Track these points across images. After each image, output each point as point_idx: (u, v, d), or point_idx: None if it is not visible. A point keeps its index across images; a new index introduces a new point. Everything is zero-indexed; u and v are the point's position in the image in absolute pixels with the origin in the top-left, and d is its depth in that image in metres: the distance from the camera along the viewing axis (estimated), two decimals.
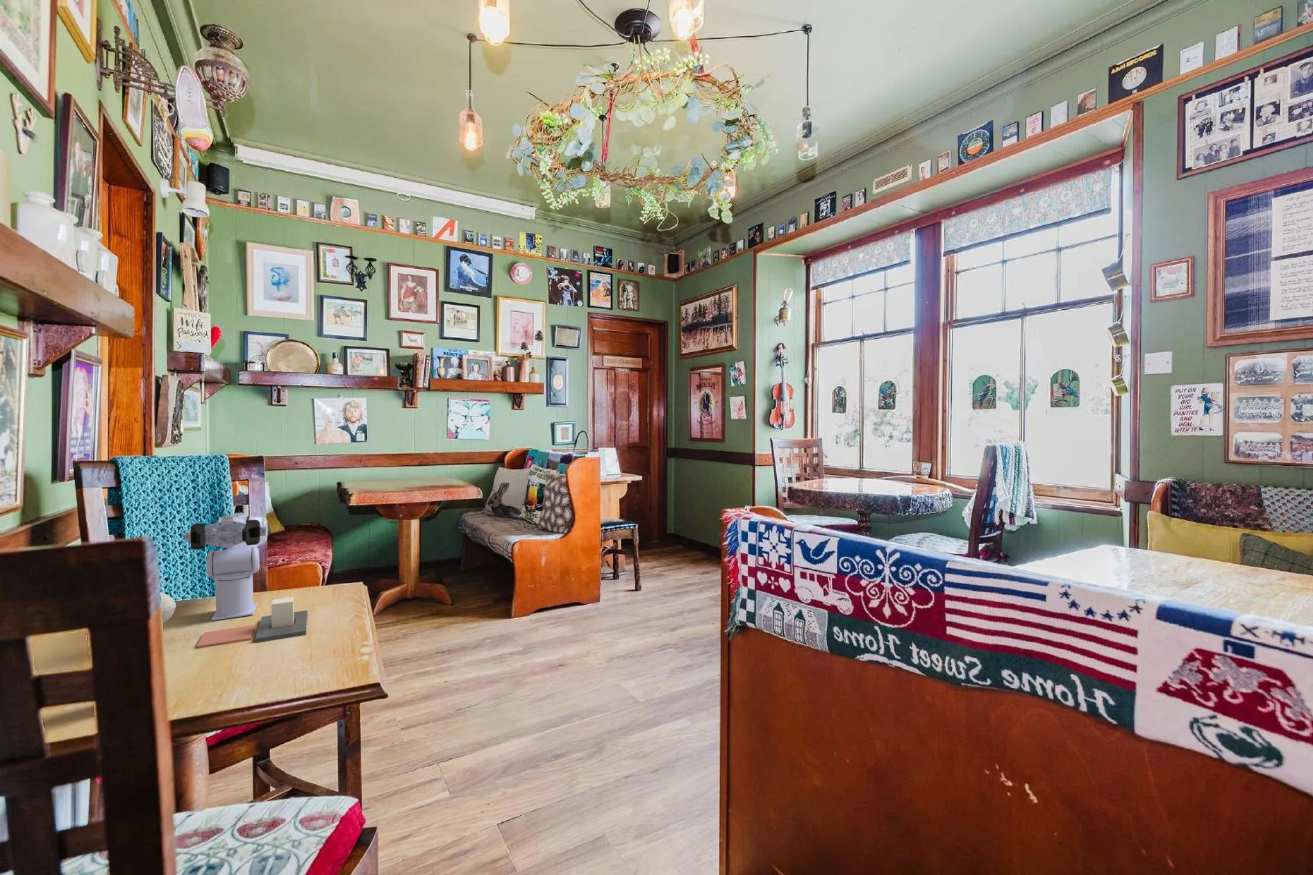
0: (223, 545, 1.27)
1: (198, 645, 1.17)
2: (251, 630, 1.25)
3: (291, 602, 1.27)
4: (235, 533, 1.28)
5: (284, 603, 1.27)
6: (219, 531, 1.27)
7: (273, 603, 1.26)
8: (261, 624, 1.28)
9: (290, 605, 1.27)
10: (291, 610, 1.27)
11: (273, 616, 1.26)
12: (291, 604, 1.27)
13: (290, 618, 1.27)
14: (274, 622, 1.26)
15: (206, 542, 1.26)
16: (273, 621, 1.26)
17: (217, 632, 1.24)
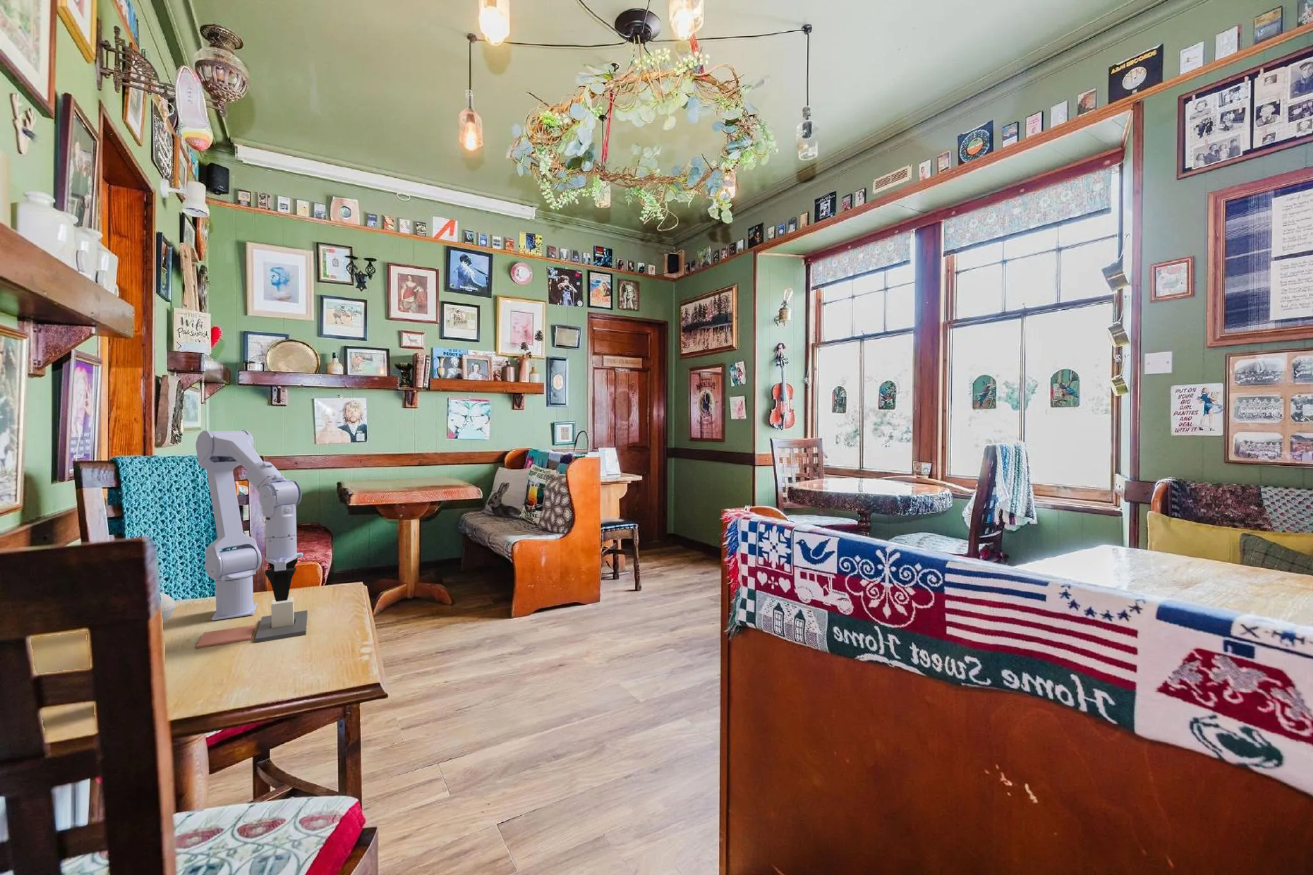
0: None
1: (198, 645, 1.17)
2: (251, 630, 1.25)
3: (291, 602, 1.27)
4: None
5: (284, 603, 1.27)
6: None
7: (273, 603, 1.26)
8: (261, 624, 1.28)
9: (289, 605, 1.27)
10: (291, 610, 1.27)
11: (273, 616, 1.26)
12: (291, 604, 1.27)
13: (290, 618, 1.27)
14: (274, 622, 1.26)
15: (272, 562, 1.24)
16: (273, 621, 1.26)
17: (217, 632, 1.24)
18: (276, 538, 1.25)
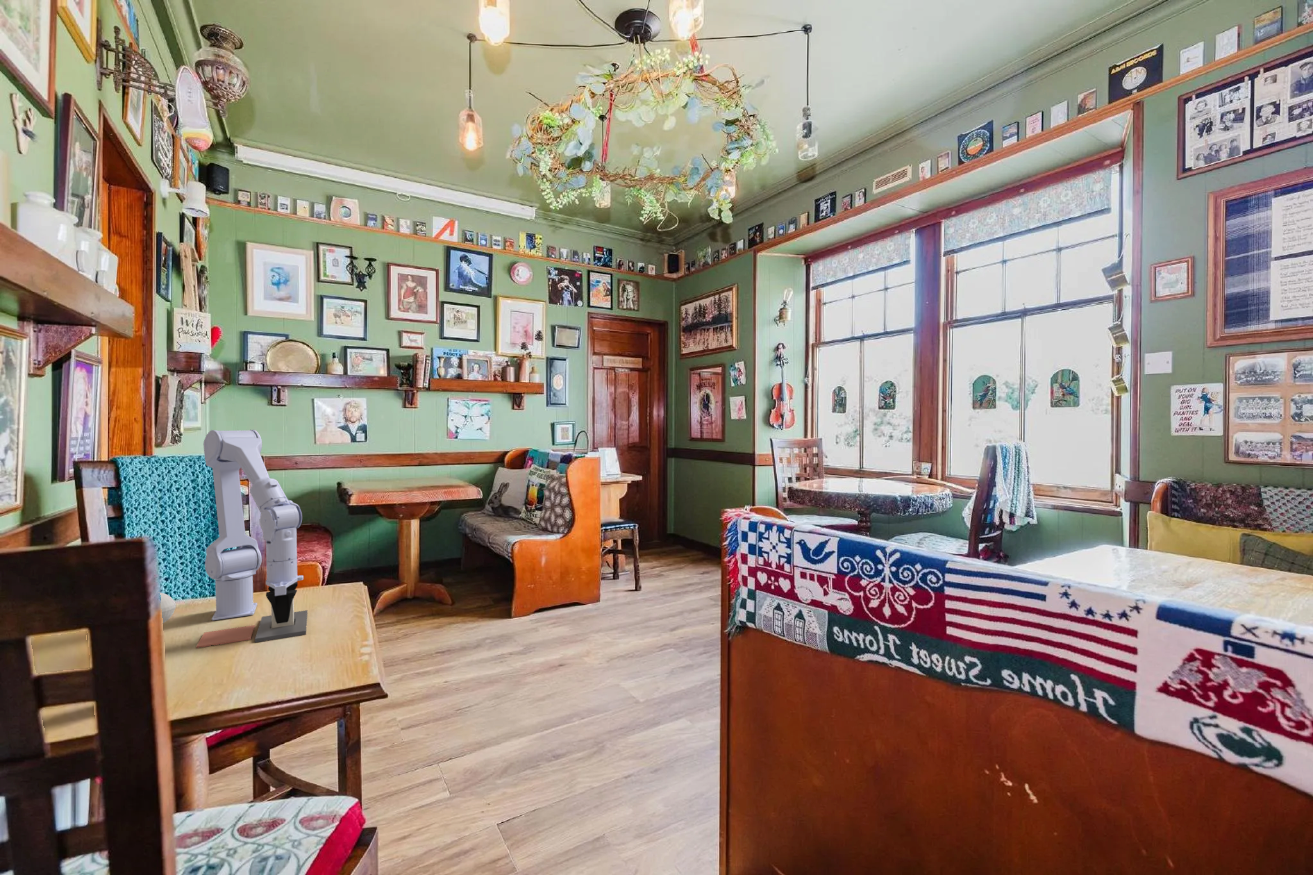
0: None
1: (198, 645, 1.17)
2: (251, 630, 1.25)
3: None
4: None
5: None
6: None
7: None
8: (261, 624, 1.28)
9: None
10: (291, 610, 1.27)
11: (273, 616, 1.26)
12: (291, 604, 1.27)
13: (290, 618, 1.27)
14: (274, 621, 1.26)
15: None
16: (273, 621, 1.26)
17: (217, 632, 1.24)
18: (276, 562, 1.25)
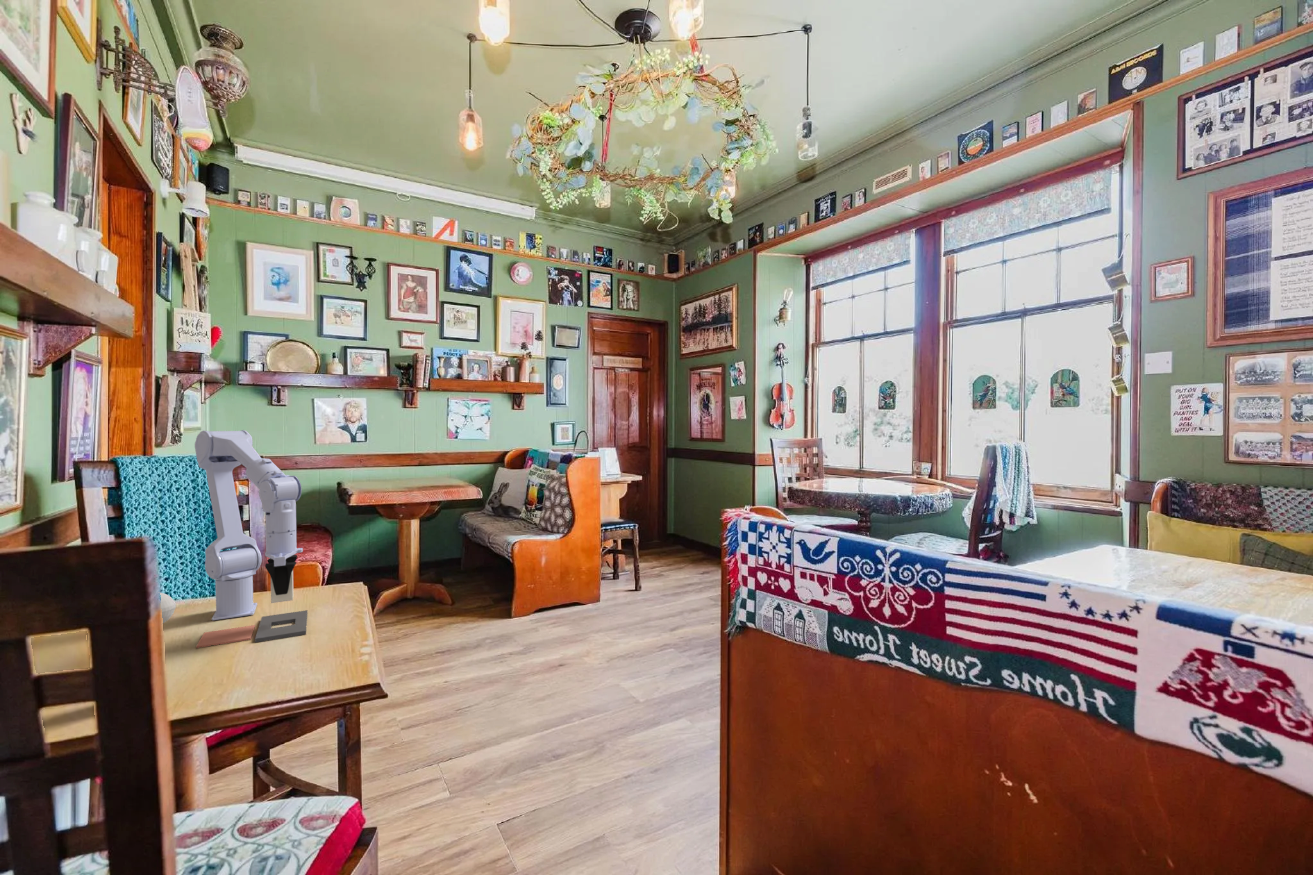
0: None
1: (198, 645, 1.17)
2: (251, 630, 1.25)
3: None
4: None
5: None
6: None
7: None
8: (261, 624, 1.28)
9: None
10: (290, 582, 1.27)
11: (272, 587, 1.25)
12: None
13: (289, 590, 1.27)
14: (273, 593, 1.26)
15: None
16: (272, 592, 1.25)
17: (217, 632, 1.24)
18: (276, 533, 1.25)
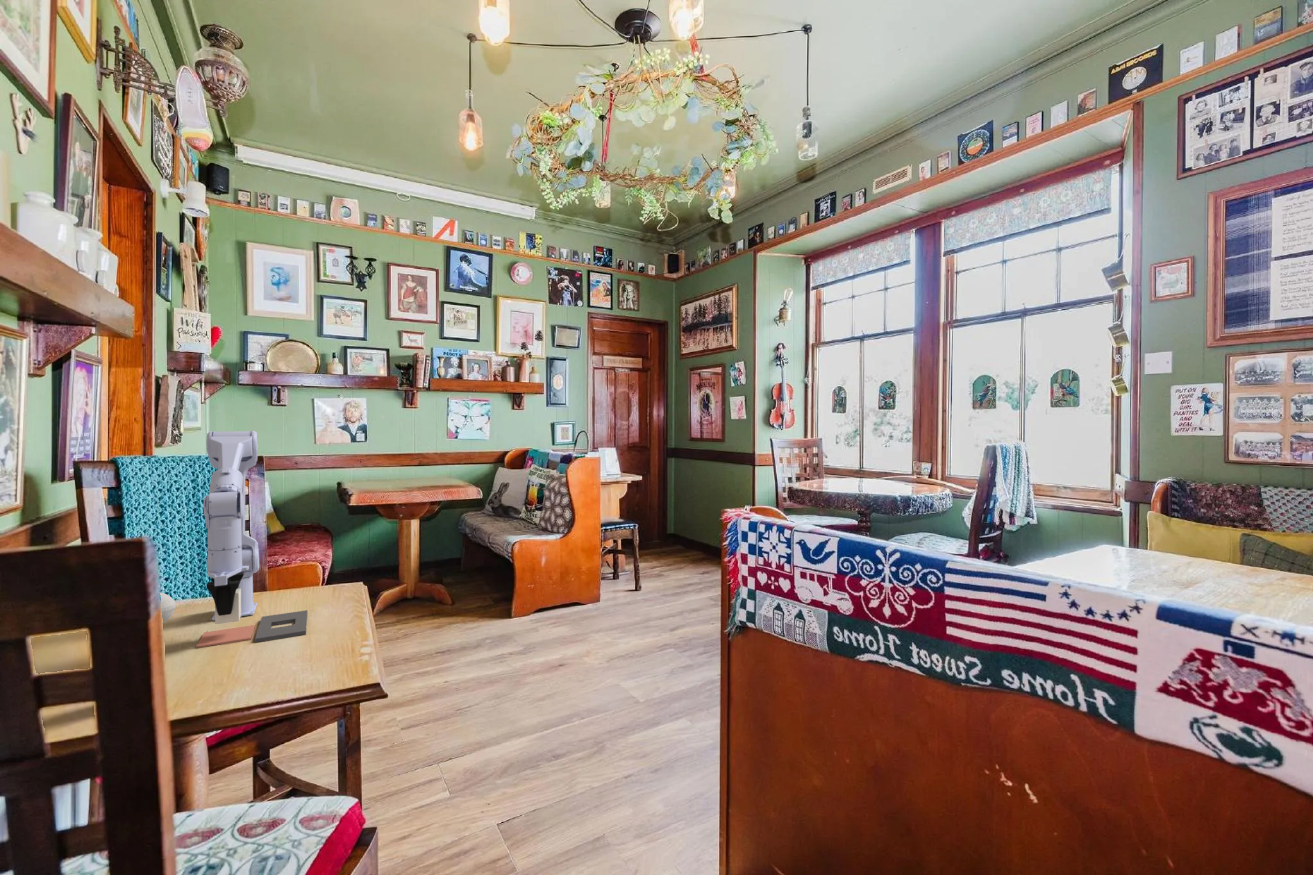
0: None
1: (198, 645, 1.17)
2: (251, 630, 1.25)
3: (236, 593, 1.22)
4: None
5: None
6: None
7: None
8: (261, 624, 1.28)
9: (235, 597, 1.21)
10: (236, 602, 1.21)
11: None
12: (236, 595, 1.21)
13: (235, 610, 1.21)
14: None
15: (213, 577, 1.18)
16: (217, 613, 1.20)
17: (217, 632, 1.24)
18: (218, 551, 1.19)
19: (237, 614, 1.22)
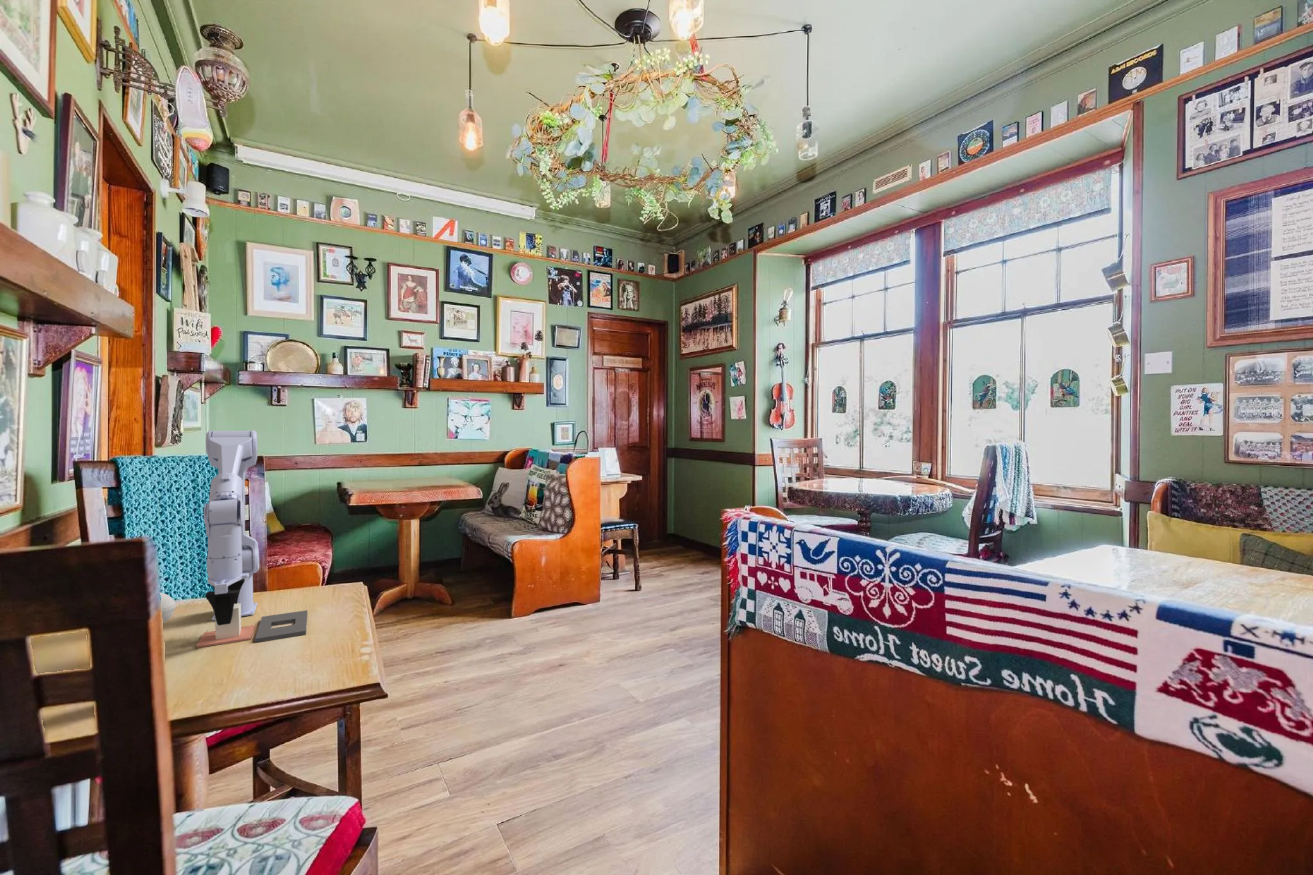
0: None
1: (198, 645, 1.17)
2: (251, 630, 1.25)
3: (237, 608, 1.22)
4: None
5: None
6: None
7: None
8: (261, 624, 1.28)
9: (235, 612, 1.21)
10: (237, 617, 1.22)
11: None
12: (237, 611, 1.22)
13: (235, 625, 1.21)
14: (218, 629, 1.20)
15: None
16: (217, 629, 1.20)
17: None
18: (218, 559, 1.19)
19: (237, 629, 1.22)
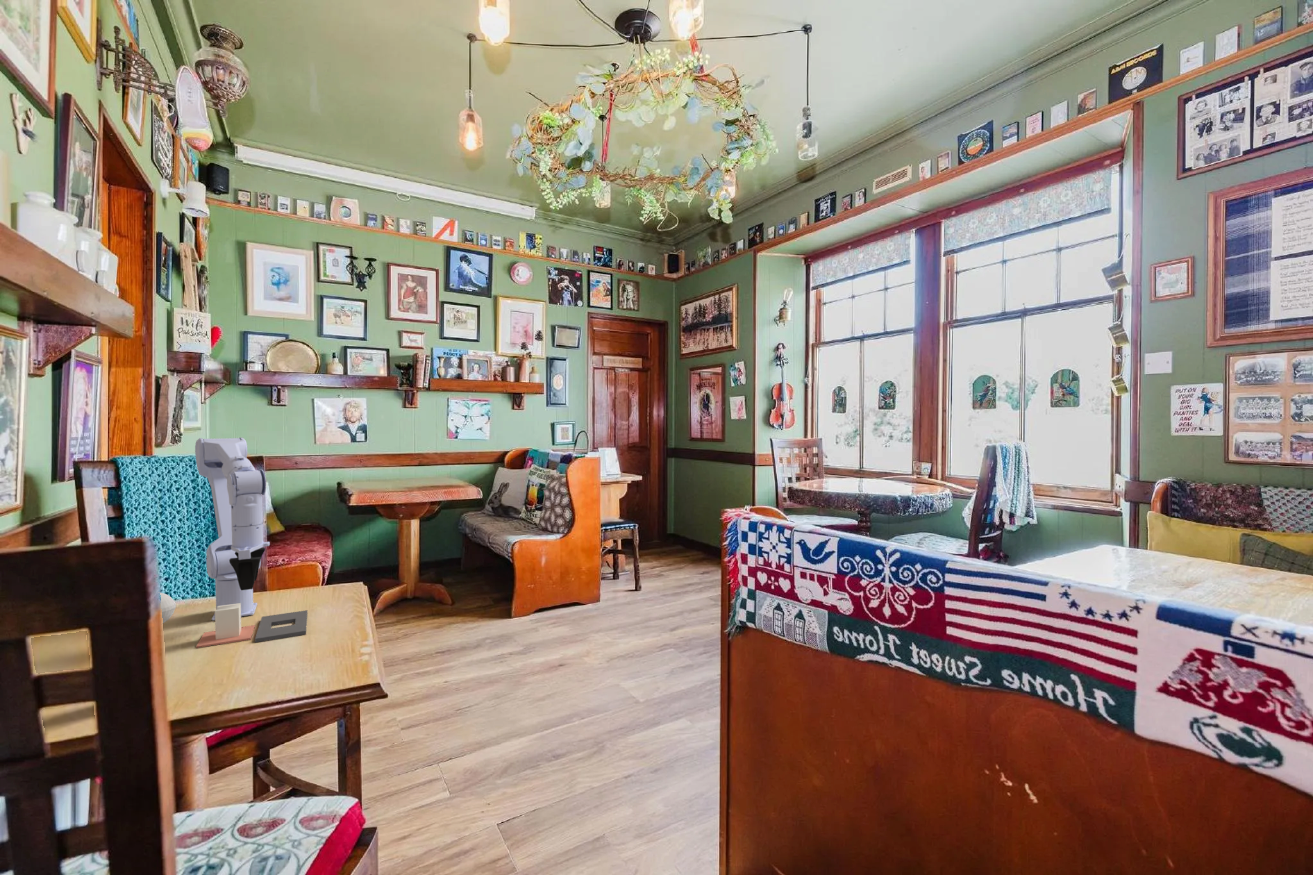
0: None
1: (198, 645, 1.17)
2: (251, 630, 1.25)
3: (237, 608, 1.22)
4: None
5: (229, 610, 1.21)
6: None
7: (217, 610, 1.20)
8: (261, 624, 1.28)
9: (235, 612, 1.21)
10: (237, 617, 1.22)
11: (217, 623, 1.20)
12: (237, 611, 1.22)
13: (235, 625, 1.21)
14: (218, 629, 1.20)
15: (237, 551, 1.24)
16: (217, 629, 1.20)
17: None
18: (241, 527, 1.25)
19: (237, 629, 1.22)
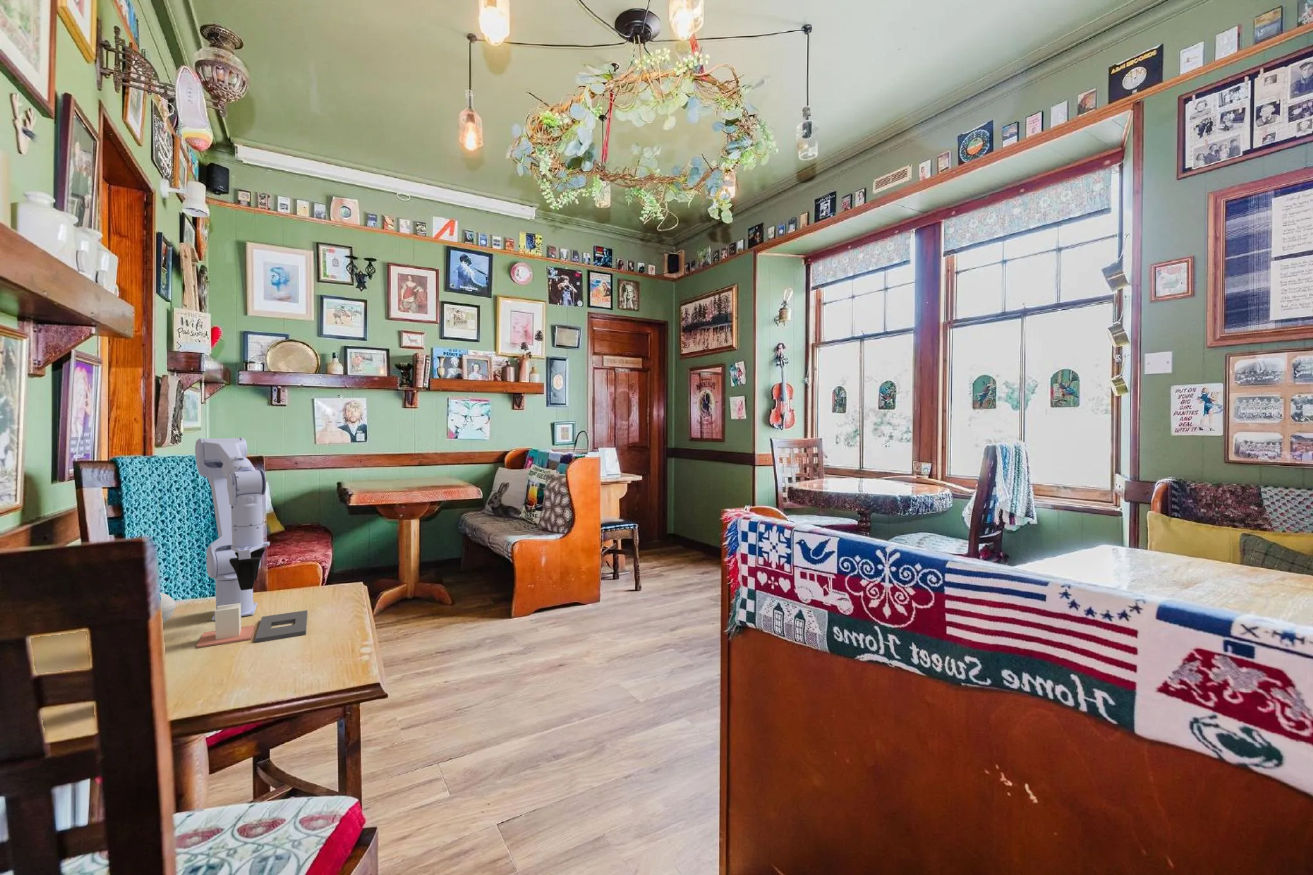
0: None
1: (198, 645, 1.17)
2: (251, 630, 1.25)
3: (237, 608, 1.22)
4: None
5: (229, 610, 1.21)
6: None
7: (217, 610, 1.20)
8: (261, 624, 1.28)
9: (235, 612, 1.21)
10: (237, 617, 1.22)
11: (217, 623, 1.20)
12: (237, 611, 1.22)
13: (235, 625, 1.21)
14: (218, 629, 1.20)
15: (237, 551, 1.24)
16: (217, 629, 1.20)
17: None
18: (241, 527, 1.25)
19: (237, 629, 1.22)
